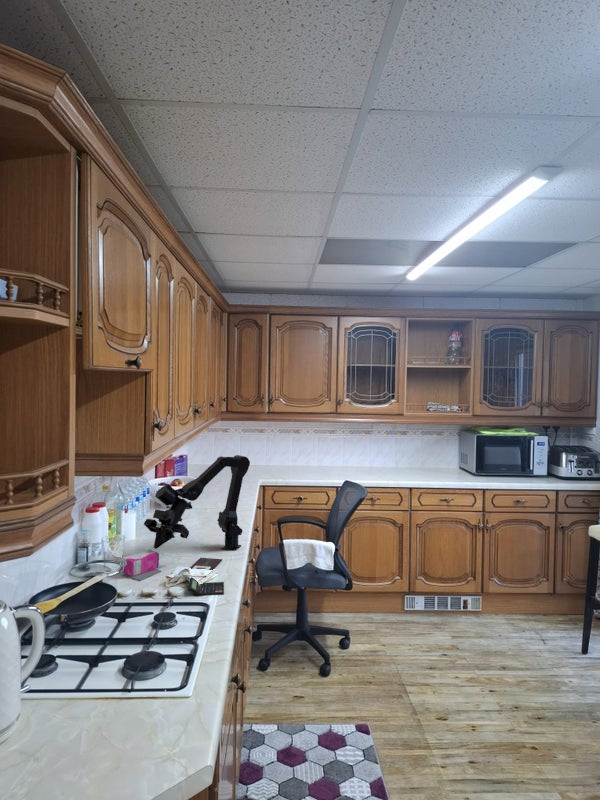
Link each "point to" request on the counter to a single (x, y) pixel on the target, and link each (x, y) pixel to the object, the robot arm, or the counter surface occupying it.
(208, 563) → the chocolate bar
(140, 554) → the supplement box
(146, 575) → the mat
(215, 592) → the calculator
